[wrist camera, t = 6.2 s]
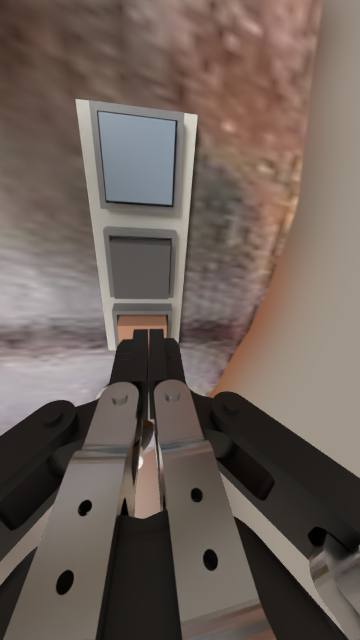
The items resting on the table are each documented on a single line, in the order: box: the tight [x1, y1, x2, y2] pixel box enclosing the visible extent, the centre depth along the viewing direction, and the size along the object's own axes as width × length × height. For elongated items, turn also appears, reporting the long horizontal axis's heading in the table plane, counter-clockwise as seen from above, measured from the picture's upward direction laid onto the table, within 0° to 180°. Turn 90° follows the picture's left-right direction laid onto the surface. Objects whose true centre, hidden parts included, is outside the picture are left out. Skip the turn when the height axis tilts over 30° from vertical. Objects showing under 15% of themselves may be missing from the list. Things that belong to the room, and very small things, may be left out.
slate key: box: [98, 112, 175, 205], centre depth 18 cm, size 6×6×2 cm
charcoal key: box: [109, 238, 171, 299], centre depth 23 cm, size 6×6×2 cm
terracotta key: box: [117, 315, 167, 343], centre depth 27 cm, size 6×6×2 cm
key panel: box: [75, 99, 197, 350], centre depth 25 cm, size 26×10×4 cm, turn 176°
